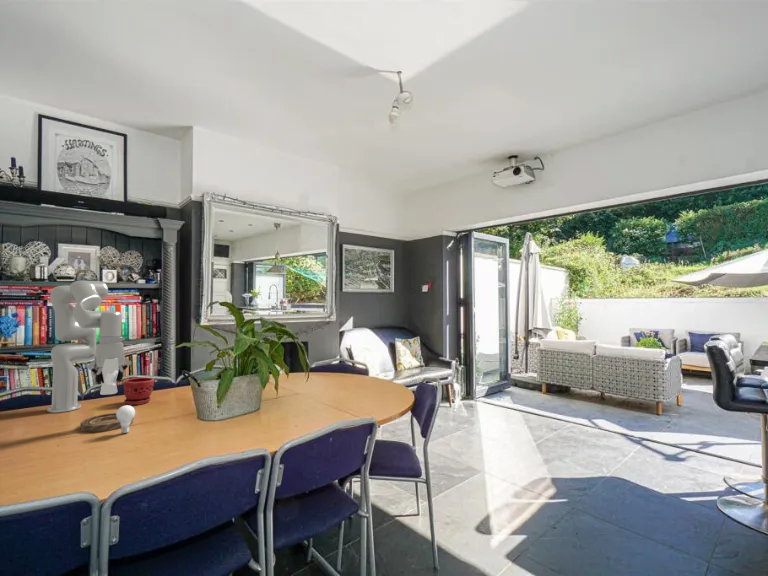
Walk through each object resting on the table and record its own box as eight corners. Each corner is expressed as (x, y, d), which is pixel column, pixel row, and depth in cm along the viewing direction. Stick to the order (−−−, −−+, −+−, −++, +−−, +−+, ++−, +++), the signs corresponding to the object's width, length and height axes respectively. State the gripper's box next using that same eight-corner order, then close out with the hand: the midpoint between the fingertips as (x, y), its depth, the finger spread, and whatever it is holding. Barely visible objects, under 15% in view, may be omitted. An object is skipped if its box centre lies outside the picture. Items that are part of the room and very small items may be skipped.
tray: (76, 425, 162) (76, 419, 162) (126, 416, 175) (126, 410, 175) (86, 435, 150) (86, 428, 150) (138, 424, 163) (139, 418, 163)
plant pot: (142, 406, 191) (143, 382, 192) (117, 406, 192) (117, 382, 192) (158, 399, 204) (159, 377, 205) (134, 399, 205) (134, 376, 205)
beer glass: (108, 395, 159) (109, 359, 159) (94, 394, 160) (95, 358, 161) (122, 391, 166) (124, 357, 166) (109, 390, 167) (110, 356, 168)
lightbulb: (138, 431, 155) (139, 404, 155) (123, 436, 149) (124, 408, 149) (127, 429, 157) (127, 402, 157) (111, 434, 151) (112, 406, 151)
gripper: (131, 338, 173) (130, 378, 172) (83, 341, 160) (81, 384, 159) (136, 339, 168) (135, 380, 167) (87, 342, 155) (85, 387, 154)
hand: (109, 382), depth 163 cm, fingers closed on beer glass, 6 cm apart
